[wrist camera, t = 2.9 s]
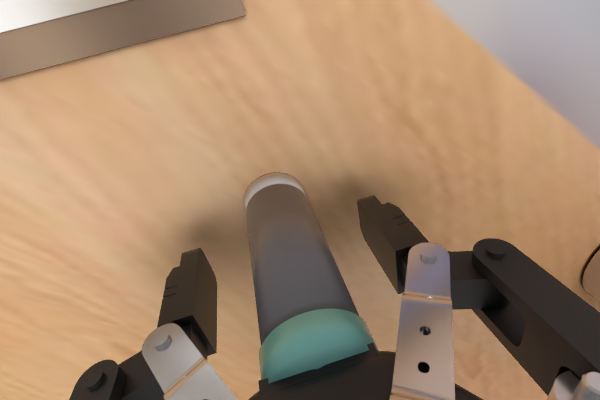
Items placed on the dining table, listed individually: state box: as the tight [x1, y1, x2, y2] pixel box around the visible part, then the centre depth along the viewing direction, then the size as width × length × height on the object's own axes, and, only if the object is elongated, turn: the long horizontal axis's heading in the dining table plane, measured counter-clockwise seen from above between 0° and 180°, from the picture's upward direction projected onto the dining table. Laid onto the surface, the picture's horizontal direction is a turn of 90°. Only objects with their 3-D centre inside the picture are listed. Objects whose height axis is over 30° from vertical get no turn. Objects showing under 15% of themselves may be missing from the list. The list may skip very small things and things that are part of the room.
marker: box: [244, 173, 378, 383], centre depth 13 cm, size 3×3×10 cm
